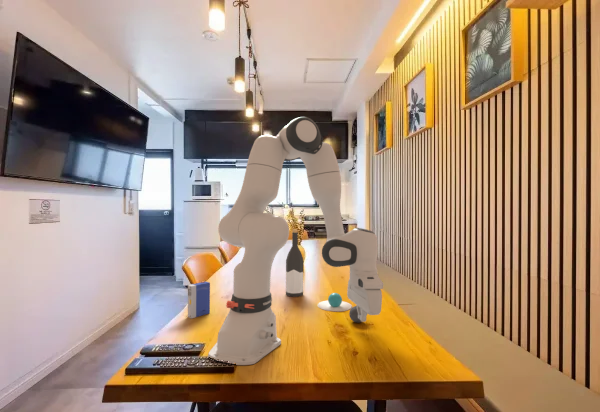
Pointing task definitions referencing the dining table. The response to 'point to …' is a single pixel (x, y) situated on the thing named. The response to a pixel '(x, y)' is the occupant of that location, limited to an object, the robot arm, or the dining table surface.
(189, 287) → the walkman
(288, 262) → the wine bottle
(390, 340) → the dining table surface
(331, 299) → the teal ball
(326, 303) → the cream mark
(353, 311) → the gray ball
